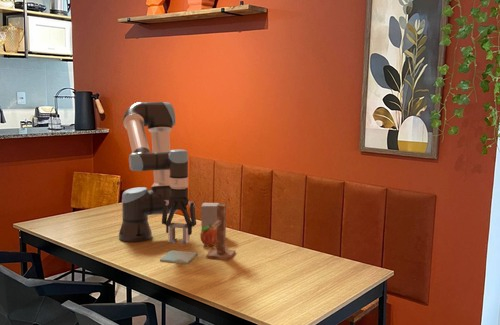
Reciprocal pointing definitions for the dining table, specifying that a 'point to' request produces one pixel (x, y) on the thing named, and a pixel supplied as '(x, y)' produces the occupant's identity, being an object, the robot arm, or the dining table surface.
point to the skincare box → (208, 214)
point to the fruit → (208, 236)
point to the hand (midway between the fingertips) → (179, 241)
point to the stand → (220, 236)
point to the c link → (172, 232)
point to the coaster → (178, 257)
